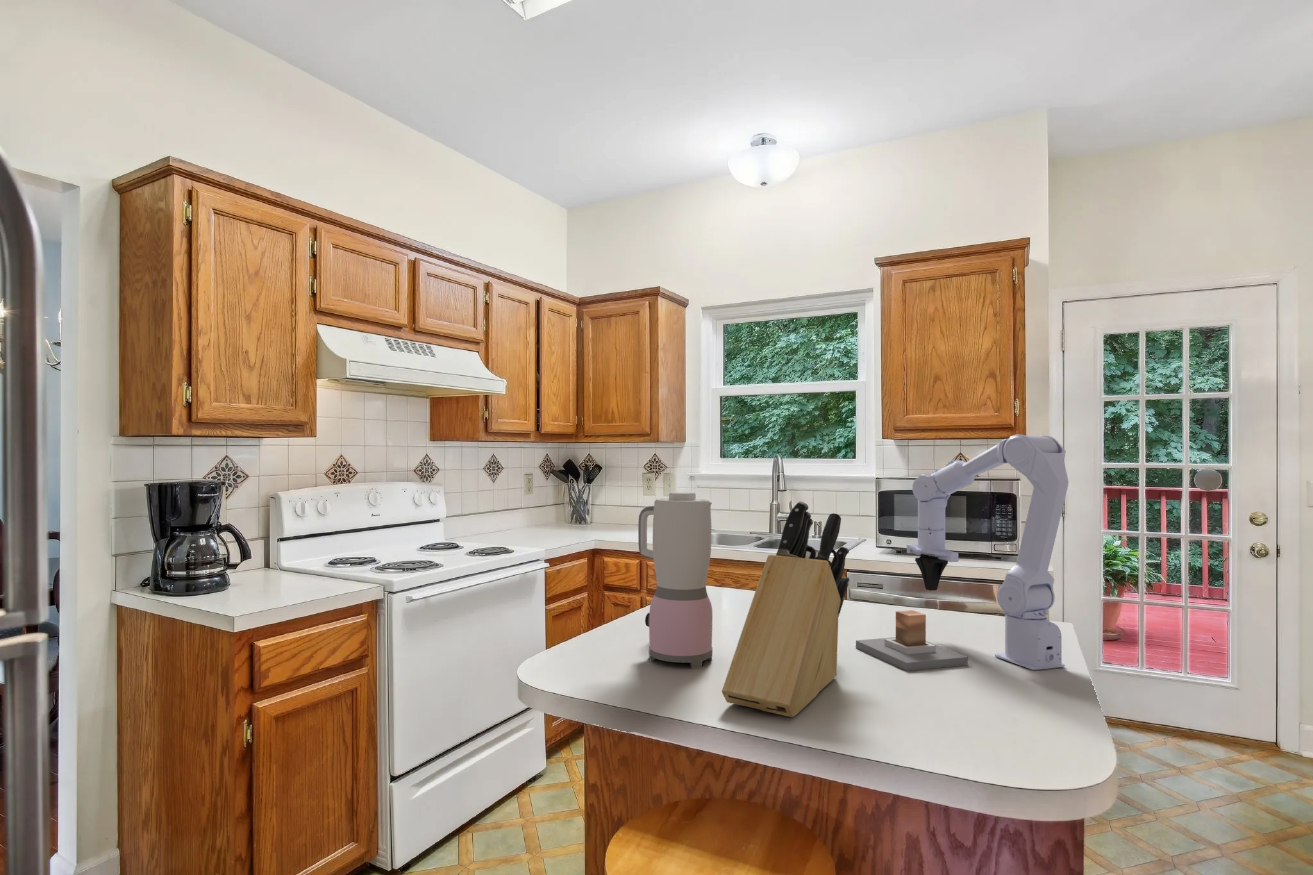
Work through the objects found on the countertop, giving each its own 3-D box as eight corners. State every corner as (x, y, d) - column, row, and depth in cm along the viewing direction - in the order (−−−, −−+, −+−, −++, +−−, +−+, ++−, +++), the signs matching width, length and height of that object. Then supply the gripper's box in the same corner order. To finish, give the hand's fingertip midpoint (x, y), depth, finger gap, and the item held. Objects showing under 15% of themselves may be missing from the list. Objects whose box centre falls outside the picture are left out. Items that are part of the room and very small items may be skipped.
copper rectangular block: (925, 650, 136) (925, 614, 136) (908, 651, 134) (908, 615, 135) (912, 644, 139) (912, 610, 140) (895, 646, 138) (895, 611, 138)
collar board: (967, 664, 131) (968, 650, 131) (906, 670, 127) (906, 656, 127) (912, 642, 147) (912, 630, 147) (855, 647, 142) (855, 634, 142)
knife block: (853, 665, 130) (854, 501, 131) (790, 726, 100) (792, 513, 101) (795, 655, 136) (797, 498, 137) (719, 711, 106) (721, 509, 106)
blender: (722, 656, 135) (724, 492, 136) (697, 673, 124) (699, 495, 125) (651, 645, 142) (653, 489, 143) (621, 660, 131) (624, 492, 132)
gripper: (895, 526, 160) (895, 584, 160) (939, 532, 147) (939, 597, 146) (921, 525, 163) (920, 583, 162) (966, 532, 149) (966, 595, 148)
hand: (931, 589), depth 154 cm, fingers closed
